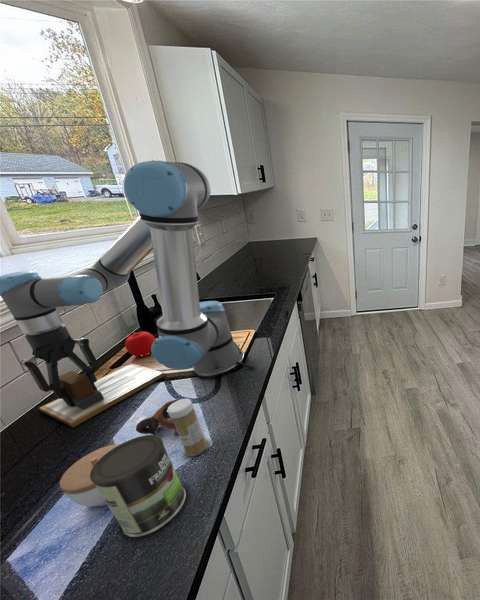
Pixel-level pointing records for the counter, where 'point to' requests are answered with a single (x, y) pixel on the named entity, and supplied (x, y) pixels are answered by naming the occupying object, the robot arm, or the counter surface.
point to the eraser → (80, 389)
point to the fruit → (140, 343)
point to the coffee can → (139, 485)
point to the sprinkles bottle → (187, 427)
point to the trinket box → (84, 480)
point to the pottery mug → (157, 421)
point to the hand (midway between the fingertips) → (83, 398)
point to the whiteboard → (105, 393)
